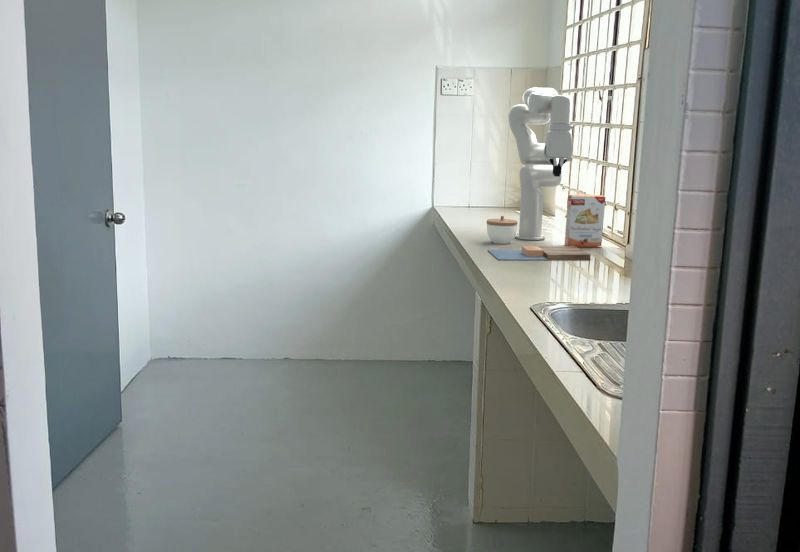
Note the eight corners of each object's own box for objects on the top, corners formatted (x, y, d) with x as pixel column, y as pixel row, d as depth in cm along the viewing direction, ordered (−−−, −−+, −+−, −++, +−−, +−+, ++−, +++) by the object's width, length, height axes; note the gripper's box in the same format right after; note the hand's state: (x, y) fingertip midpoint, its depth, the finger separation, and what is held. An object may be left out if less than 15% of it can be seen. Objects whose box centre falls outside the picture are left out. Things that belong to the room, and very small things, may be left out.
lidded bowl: (515, 245, 325) (516, 218, 323) (484, 244, 327) (485, 217, 325) (517, 240, 337) (518, 214, 335) (487, 239, 339) (488, 213, 337)
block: (521, 252, 307) (521, 246, 307) (536, 252, 308) (537, 246, 307) (527, 256, 298) (527, 250, 298) (542, 256, 299) (543, 250, 298)
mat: (487, 250, 312) (487, 249, 312) (533, 250, 313) (534, 249, 313) (498, 260, 292) (498, 259, 292) (547, 260, 294) (547, 259, 294)
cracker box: (567, 247, 323) (571, 195, 319) (564, 244, 329) (567, 194, 325) (602, 247, 324) (605, 196, 319) (597, 245, 330) (601, 194, 325)
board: (535, 251, 313) (535, 246, 312) (575, 251, 314) (575, 246, 314) (547, 259, 295) (548, 254, 295) (590, 259, 296) (590, 254, 296)
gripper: (575, 128, 312) (572, 175, 316) (538, 127, 310) (535, 175, 314) (581, 128, 304) (578, 177, 308) (543, 128, 303) (540, 176, 307)
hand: (556, 176), depth 311 cm, fingers closed
